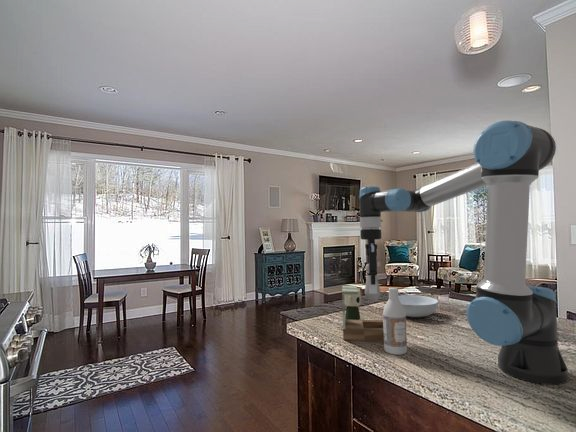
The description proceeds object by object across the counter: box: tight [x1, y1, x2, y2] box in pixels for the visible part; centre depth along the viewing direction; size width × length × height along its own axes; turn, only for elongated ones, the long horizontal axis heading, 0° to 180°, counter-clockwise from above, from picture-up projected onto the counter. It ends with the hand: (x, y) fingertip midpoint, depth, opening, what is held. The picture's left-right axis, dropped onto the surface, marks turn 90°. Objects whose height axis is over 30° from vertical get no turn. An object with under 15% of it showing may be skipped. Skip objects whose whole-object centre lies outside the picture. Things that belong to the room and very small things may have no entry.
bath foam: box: [382, 287, 408, 356], centre depth 104 cm, size 7×7×20 cm
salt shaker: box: [363, 263, 381, 301], centre depth 119 cm, size 6×6×13 cm
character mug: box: [345, 288, 362, 320], centre depth 138 cm, size 11×7×13 cm, turn 158°
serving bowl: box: [398, 294, 439, 318], centre depth 145 cm, size 21×21×7 cm
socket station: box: [341, 285, 384, 343], centre depth 119 cm, size 12×17×17 cm
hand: (372, 291), depth 119 cm, fingers closed on salt shaker, 6 cm apart
